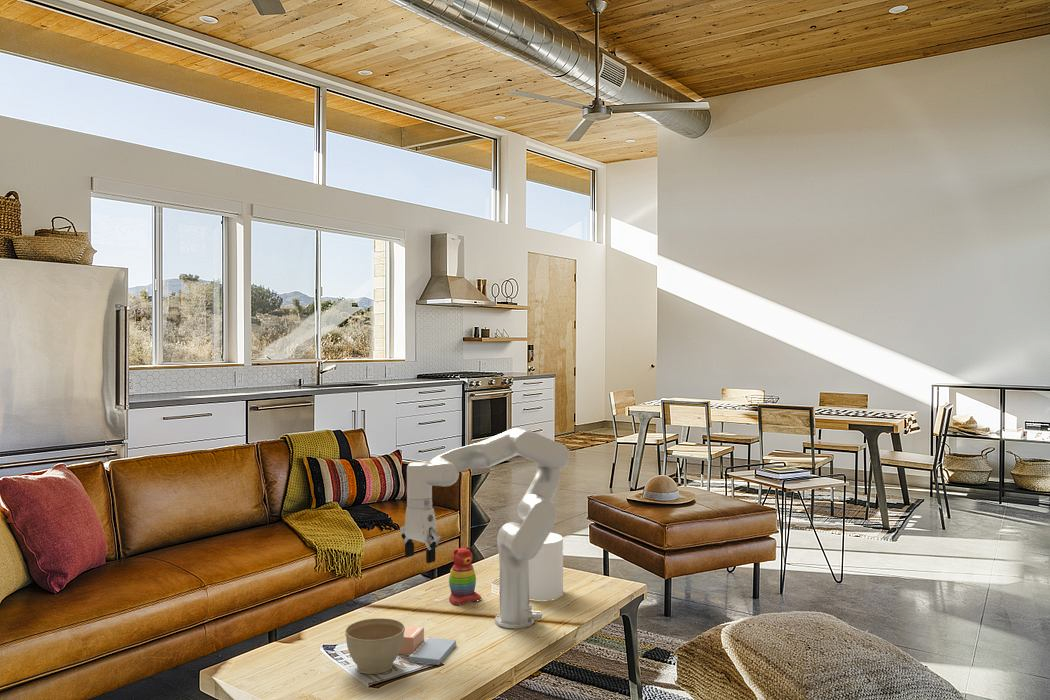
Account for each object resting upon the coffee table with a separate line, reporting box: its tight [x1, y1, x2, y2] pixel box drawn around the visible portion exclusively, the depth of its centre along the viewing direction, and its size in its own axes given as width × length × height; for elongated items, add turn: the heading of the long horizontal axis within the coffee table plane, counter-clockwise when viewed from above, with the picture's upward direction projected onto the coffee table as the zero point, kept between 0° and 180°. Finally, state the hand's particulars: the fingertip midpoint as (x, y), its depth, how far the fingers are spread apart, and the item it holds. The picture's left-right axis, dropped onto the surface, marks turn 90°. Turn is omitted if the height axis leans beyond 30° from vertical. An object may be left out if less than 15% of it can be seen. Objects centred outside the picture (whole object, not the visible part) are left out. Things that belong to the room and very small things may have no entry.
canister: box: [529, 532, 564, 601], centre depth 268 cm, size 16×16×20 cm
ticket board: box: [408, 636, 457, 666], centre depth 218 cm, size 9×14×2 cm, turn 166°
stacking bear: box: [448, 546, 482, 606], centre depth 263 cm, size 11×10×18 cm
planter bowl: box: [344, 617, 406, 675], centre depth 209 cm, size 16×16×11 cm
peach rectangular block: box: [398, 625, 425, 656], centre depth 221 cm, size 5×8×5 cm, turn 166°
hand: (420, 559), depth 230 cm, fingers open, 9 cm apart
